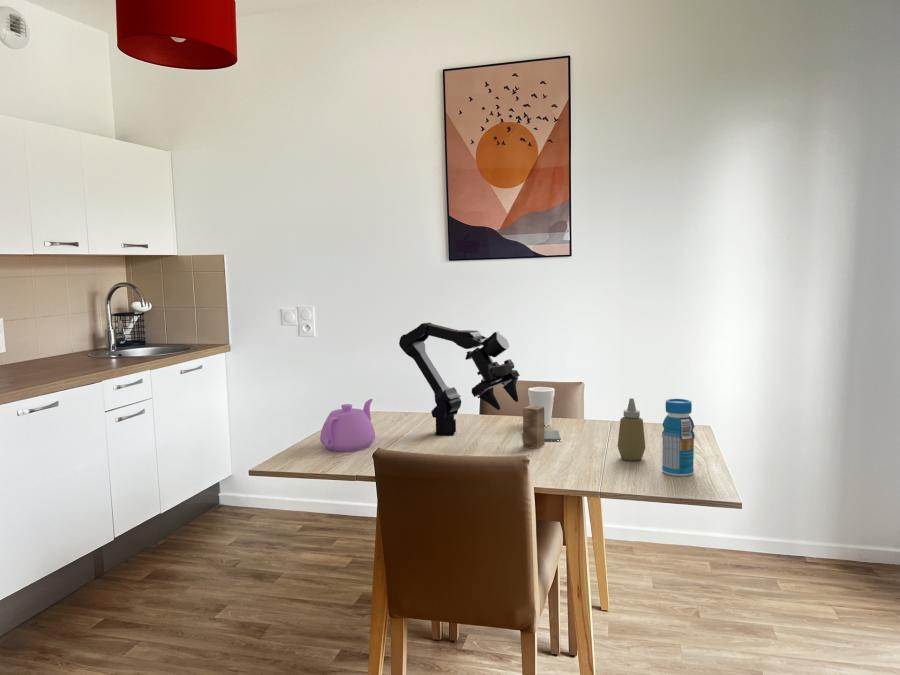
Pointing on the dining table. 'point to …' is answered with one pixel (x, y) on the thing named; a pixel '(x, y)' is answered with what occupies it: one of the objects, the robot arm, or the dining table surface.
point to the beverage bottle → (678, 438)
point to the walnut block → (533, 426)
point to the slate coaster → (551, 435)
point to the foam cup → (542, 400)
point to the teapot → (348, 429)
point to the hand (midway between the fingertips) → (508, 405)
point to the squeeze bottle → (631, 434)
